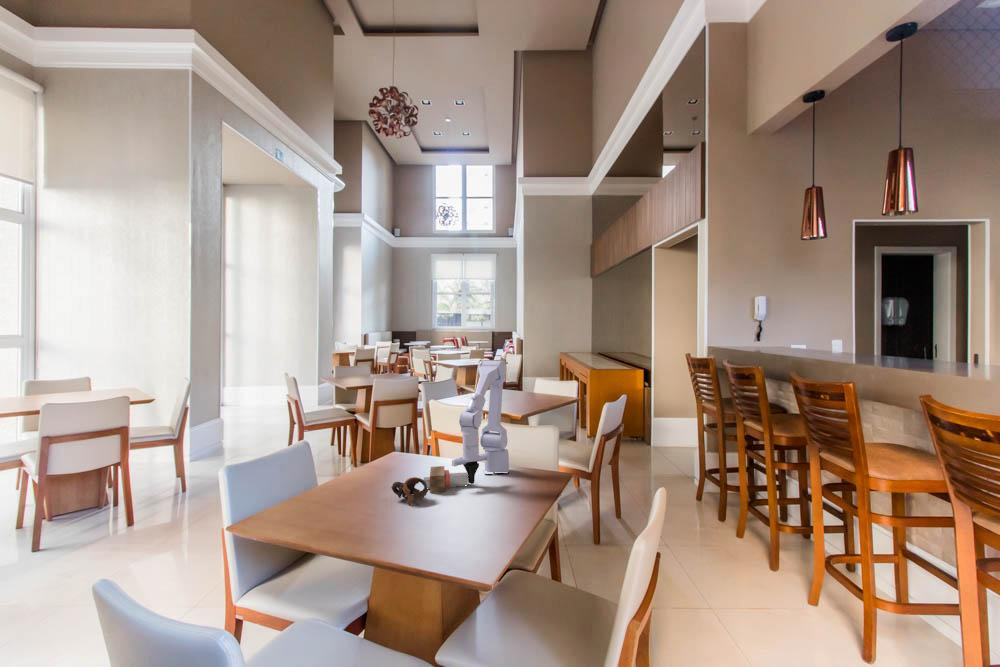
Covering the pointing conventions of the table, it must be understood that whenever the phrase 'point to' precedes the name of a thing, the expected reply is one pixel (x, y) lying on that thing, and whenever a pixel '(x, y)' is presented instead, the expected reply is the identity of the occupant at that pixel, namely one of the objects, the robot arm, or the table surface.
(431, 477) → the walnut block
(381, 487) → the table surface
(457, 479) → the grey and red block
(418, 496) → the brown ringed sculpture
